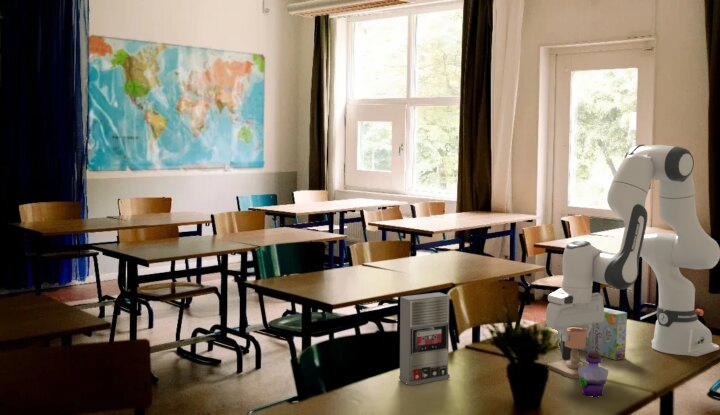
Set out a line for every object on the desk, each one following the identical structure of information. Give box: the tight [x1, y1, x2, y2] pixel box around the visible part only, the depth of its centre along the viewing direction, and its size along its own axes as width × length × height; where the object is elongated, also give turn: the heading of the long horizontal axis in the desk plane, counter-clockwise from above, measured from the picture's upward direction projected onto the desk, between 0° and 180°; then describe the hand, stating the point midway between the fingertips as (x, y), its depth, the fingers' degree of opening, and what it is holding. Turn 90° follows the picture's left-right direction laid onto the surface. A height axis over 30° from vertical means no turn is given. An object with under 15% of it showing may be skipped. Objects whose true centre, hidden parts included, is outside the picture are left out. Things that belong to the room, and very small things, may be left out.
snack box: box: [574, 307, 628, 361], centre depth 254 cm, size 21×6×15 cm, turn 35°
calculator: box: [560, 326, 574, 360], centre depth 250 cm, size 11×4×15 cm, turn 168°
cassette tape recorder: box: [398, 292, 451, 386], centre depth 223 cm, size 14×6×25 cm, turn 117°
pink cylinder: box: [565, 327, 586, 350], centre depth 233 cm, size 6×6×5 cm
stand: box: [545, 348, 588, 380], centre depth 234 cm, size 12×12×7 cm
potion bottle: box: [578, 351, 609, 398], centre depth 212 cm, size 9×9×12 cm
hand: (575, 339), depth 233 cm, fingers closed on pink cylinder, 6 cm apart
